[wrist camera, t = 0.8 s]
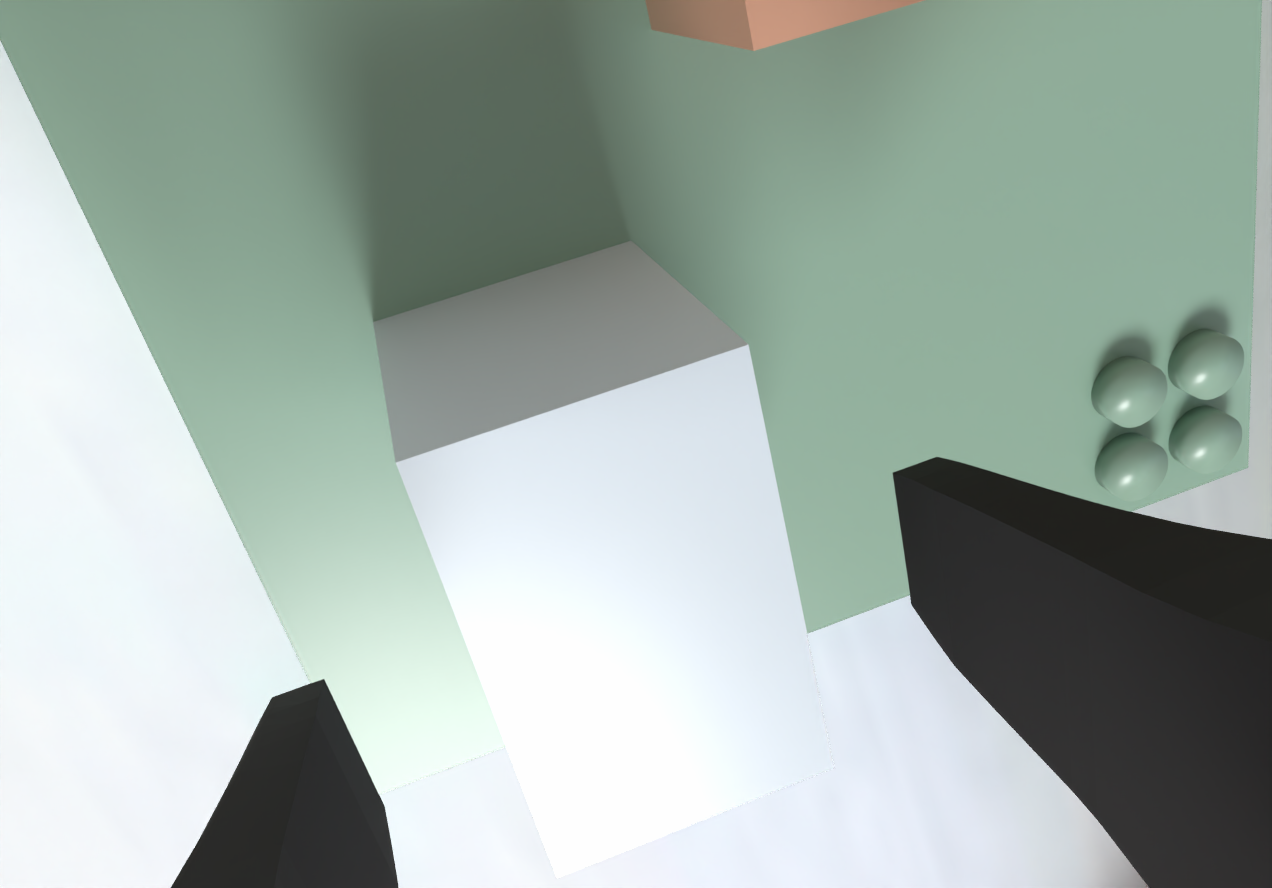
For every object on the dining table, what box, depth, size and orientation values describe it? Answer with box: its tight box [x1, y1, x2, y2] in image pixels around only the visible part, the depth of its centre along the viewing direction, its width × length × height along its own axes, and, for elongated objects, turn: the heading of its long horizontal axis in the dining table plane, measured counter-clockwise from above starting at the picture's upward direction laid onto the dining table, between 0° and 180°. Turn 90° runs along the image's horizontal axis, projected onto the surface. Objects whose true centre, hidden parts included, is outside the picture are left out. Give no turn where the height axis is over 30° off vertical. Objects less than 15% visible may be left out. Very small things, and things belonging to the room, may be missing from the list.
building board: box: [0, 0, 1262, 795], centre depth 16 cm, size 18×20×2 cm
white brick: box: [373, 241, 835, 878], centre depth 15 cm, size 4×6×5 cm, turn 14°
